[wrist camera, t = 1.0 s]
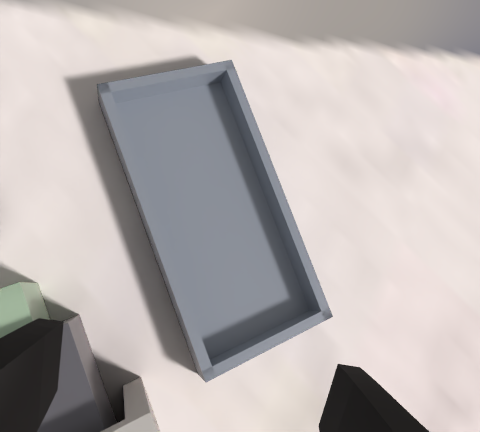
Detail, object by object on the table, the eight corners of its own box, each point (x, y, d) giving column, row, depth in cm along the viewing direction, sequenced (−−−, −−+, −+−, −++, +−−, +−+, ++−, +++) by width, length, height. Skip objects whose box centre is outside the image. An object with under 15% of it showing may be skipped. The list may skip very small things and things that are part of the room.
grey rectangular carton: (-30, 306, 19) (-78, 313, 14) (65, 273, 20) (49, 269, 16) (35, 507, 18) (8, 582, 13) (128, 456, 20) (132, 508, 15)
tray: (198, 374, 22) (206, 382, 20) (98, 101, 23) (96, 84, 21) (316, 314, 25) (332, 316, 23) (223, 76, 26) (231, 59, 24)
